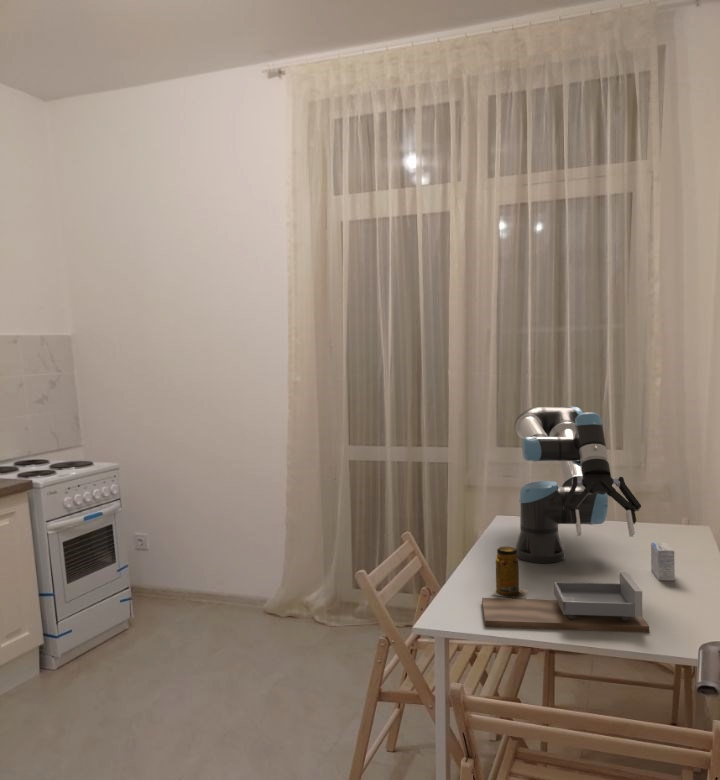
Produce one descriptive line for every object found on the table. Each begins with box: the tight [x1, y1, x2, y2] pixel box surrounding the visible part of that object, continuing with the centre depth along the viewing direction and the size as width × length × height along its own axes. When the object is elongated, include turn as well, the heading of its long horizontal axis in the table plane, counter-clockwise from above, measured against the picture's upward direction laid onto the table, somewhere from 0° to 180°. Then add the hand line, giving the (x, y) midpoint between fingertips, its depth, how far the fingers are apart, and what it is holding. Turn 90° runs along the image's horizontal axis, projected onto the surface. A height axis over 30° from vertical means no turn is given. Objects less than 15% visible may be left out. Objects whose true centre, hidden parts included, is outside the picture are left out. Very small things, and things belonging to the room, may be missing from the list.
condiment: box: [492, 546, 529, 599], centre depth 169 cm, size 7×8×12 cm
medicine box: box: [650, 542, 676, 582], centre depth 179 cm, size 8×4×9 cm, turn 168°
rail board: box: [481, 597, 650, 633], centre depth 153 cm, size 14×37×2 cm, turn 82°
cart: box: [553, 571, 643, 622], centre depth 152 cm, size 13×18×8 cm
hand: (605, 534), depth 168 cm, fingers open, 13 cm apart
